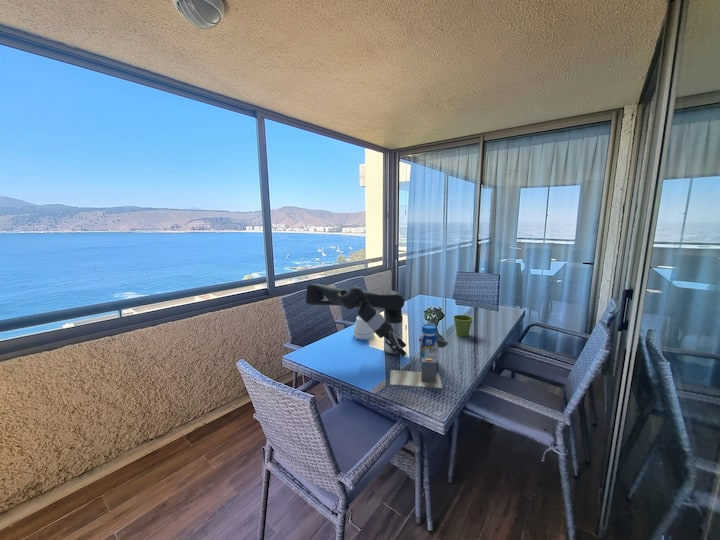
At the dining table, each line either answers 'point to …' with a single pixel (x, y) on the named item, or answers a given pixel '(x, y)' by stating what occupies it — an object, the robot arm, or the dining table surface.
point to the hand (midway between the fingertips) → (404, 350)
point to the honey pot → (362, 329)
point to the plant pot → (462, 324)
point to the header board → (412, 379)
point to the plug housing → (428, 369)
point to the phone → (440, 343)
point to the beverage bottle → (428, 342)
